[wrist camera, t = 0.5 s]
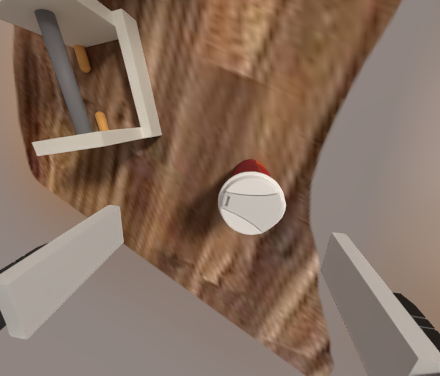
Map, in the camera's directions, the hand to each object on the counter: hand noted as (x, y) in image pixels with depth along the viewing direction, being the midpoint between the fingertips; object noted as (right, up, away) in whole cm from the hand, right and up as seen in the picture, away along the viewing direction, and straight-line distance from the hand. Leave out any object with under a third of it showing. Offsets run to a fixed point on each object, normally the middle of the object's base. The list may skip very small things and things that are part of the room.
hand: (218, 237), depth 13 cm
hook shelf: (-18, +21, +24) cm, 36 cm away
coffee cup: (+6, +6, +26) cm, 27 cm away
